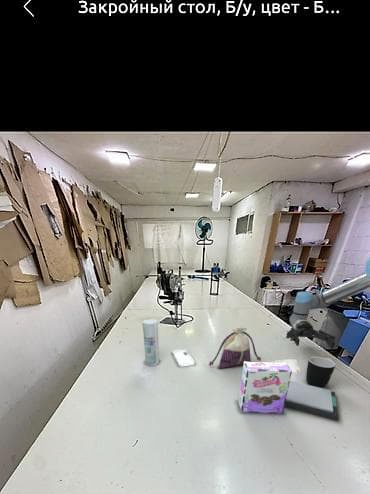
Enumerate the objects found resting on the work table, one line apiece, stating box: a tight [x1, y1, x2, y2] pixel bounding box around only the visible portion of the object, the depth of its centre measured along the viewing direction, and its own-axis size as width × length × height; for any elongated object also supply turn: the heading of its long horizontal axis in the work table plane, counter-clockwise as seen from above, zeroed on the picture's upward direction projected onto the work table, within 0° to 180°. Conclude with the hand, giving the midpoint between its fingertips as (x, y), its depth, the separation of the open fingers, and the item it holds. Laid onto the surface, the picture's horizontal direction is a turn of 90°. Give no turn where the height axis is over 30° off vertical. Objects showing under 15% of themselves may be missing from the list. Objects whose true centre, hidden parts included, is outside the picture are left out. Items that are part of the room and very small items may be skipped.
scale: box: [284, 380, 339, 422], centre depth 83 cm, size 16×15×3 cm
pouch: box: [208, 327, 262, 369], centre depth 104 cm, size 25×8×19 cm, turn 110°
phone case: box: [172, 349, 196, 368], centre depth 113 cm, size 7×1×15 cm
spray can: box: [142, 318, 160, 366], centre depth 106 cm, size 6×6×20 cm
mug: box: [305, 356, 336, 389], centre depth 93 cm, size 12×9×10 cm
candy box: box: [237, 361, 293, 414], centre depth 77 cm, size 14×6×16 cm, turn 88°
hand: (315, 344), depth 99 cm, fingers open, 13 cm apart
